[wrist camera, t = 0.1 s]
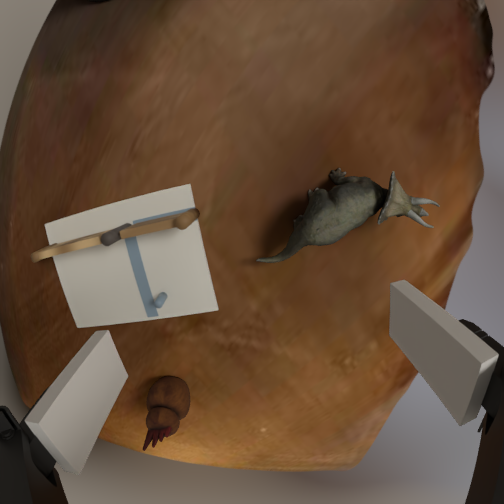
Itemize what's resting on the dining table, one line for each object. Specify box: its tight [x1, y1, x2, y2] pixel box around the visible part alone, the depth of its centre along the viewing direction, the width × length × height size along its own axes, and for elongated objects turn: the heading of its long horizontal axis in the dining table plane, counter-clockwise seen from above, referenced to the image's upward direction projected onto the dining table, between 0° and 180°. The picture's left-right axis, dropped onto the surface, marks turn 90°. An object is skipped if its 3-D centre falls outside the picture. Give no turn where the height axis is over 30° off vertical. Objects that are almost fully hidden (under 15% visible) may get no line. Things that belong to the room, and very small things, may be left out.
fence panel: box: [31, 229, 112, 263], centre depth 36 cm, size 12×1×6 cm, turn 100°
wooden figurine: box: [143, 376, 190, 451], centre depth 39 cm, size 7×6×15 cm
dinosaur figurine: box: [256, 168, 439, 263], centre depth 34 cm, size 22×8×11 cm, turn 110°
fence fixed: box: [101, 208, 200, 246], centre depth 35 cm, size 2×11×8 cm, turn 100°
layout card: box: [45, 184, 219, 328], centre depth 39 cm, size 18×25×3 cm
